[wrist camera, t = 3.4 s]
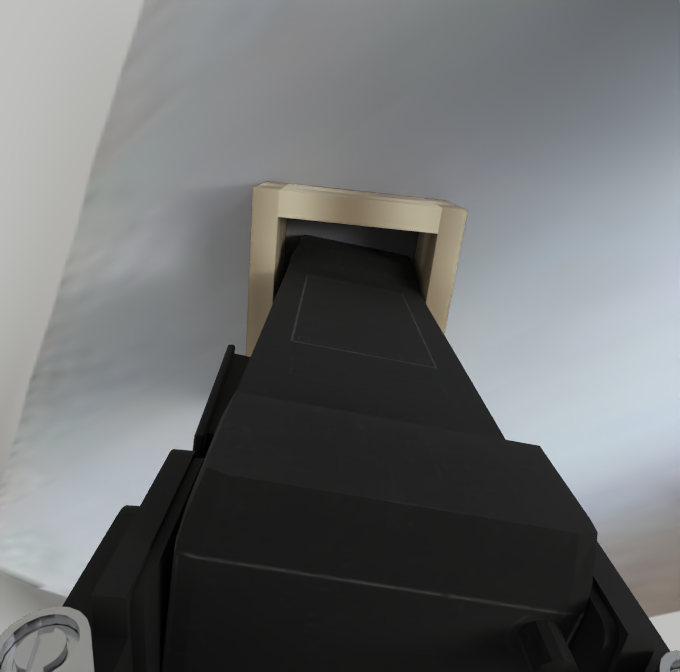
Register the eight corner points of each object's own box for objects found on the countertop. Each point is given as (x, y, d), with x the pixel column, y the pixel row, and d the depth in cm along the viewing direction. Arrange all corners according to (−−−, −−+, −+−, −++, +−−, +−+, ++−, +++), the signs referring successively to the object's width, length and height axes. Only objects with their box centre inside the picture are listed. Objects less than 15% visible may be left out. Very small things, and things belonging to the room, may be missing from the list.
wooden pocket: (445, 200, 28) (467, 210, 23) (412, 391, 32) (425, 432, 27) (267, 181, 27) (252, 187, 23) (257, 377, 31) (243, 416, 27)
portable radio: (264, 326, 30) (17, 925, 7) (280, 228, 28) (3, 610, 5) (389, 350, 31) (554, 976, 7) (413, 256, 29) (749, 713, 5)
